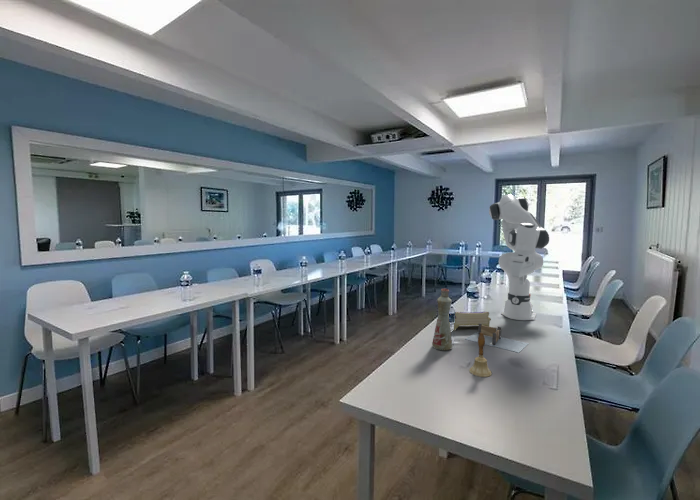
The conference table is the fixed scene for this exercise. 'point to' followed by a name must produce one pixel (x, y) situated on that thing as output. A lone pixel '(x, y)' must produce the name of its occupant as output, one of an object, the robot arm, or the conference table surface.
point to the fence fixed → (488, 330)
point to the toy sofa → (471, 319)
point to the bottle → (443, 323)
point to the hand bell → (480, 361)
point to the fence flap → (495, 337)
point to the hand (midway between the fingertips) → (522, 283)
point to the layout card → (501, 343)
